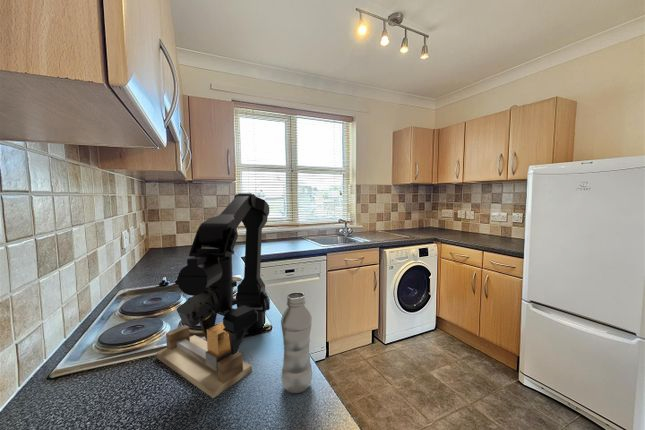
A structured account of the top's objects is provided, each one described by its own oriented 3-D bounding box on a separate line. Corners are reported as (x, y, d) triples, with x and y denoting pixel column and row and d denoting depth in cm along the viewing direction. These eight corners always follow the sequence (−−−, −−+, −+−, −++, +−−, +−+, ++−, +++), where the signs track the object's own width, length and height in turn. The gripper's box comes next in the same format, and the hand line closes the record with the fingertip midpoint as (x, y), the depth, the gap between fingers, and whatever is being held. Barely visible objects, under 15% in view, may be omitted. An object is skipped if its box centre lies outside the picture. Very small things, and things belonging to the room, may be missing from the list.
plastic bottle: (275, 386, 56) (273, 295, 55) (299, 372, 61) (298, 287, 60) (294, 403, 52) (292, 304, 50) (319, 386, 56) (318, 295, 55)
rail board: (194, 340, 75) (194, 321, 75) (251, 371, 61) (251, 348, 61) (156, 358, 67) (155, 337, 66) (213, 398, 53) (212, 372, 53)
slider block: (225, 353, 63) (224, 321, 62) (236, 359, 60) (235, 325, 60) (206, 365, 59) (204, 330, 58) (216, 371, 56) (215, 335, 56)
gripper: (159, 281, 57) (162, 350, 58) (210, 299, 46) (213, 384, 47) (207, 269, 66) (209, 329, 67) (258, 282, 55) (260, 353, 57)
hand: (221, 346), depth 59 cm, fingers open, 9 cm apart
